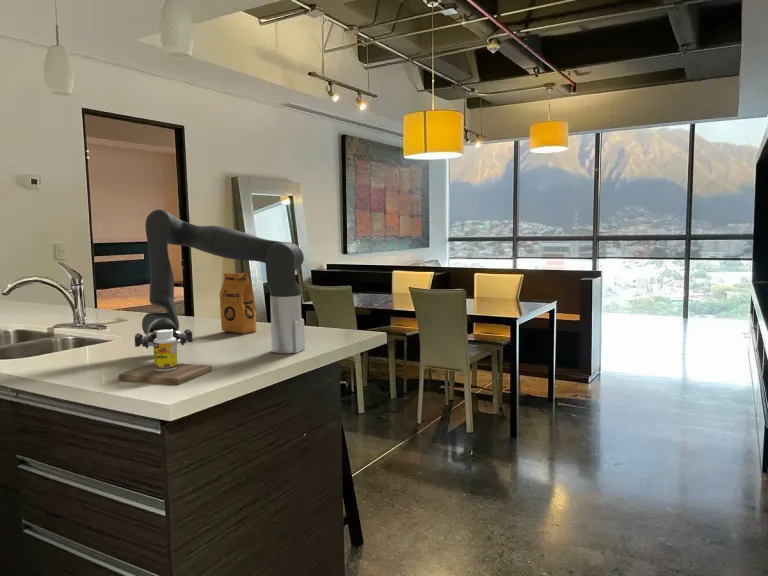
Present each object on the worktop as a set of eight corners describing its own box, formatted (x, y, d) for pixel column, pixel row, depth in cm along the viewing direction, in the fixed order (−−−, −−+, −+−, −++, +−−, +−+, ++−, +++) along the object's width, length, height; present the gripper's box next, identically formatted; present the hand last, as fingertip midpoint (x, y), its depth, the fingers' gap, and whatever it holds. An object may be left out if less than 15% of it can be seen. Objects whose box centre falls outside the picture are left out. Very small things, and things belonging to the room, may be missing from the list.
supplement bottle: (150, 371, 149) (147, 332, 148) (164, 366, 154) (162, 328, 153) (168, 372, 147) (166, 333, 146) (182, 367, 152) (180, 329, 151)
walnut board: (212, 371, 154) (212, 365, 154) (179, 384, 141) (178, 378, 141) (155, 367, 160) (155, 362, 160) (118, 380, 146) (118, 374, 146)
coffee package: (241, 335, 206) (238, 274, 204) (217, 332, 213) (214, 273, 211) (261, 331, 215) (259, 272, 212) (238, 328, 222) (235, 271, 219)
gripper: (134, 321, 160) (133, 330, 145) (188, 317, 165) (193, 325, 150) (135, 348, 160) (135, 360, 145) (190, 343, 166) (195, 354, 151)
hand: (164, 342), depth 148 cm, fingers open, 8 cm apart
